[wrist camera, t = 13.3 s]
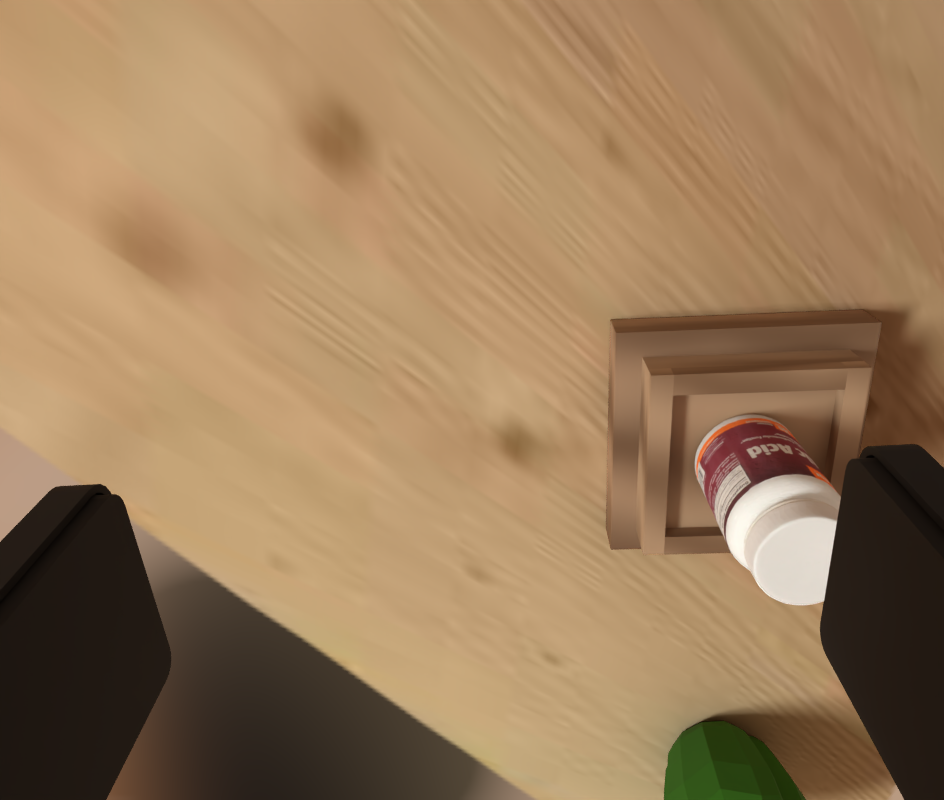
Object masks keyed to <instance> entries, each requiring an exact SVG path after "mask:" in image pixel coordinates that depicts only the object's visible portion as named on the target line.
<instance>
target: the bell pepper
mask: <svg viewBox="0 0 944 800" xmlns="http://www.w3.org/2000/svg"><path fill="white" fill-rule="evenodd" d="M664 800H806V799H805V798H804V796H803V795H802V793H801V792H800V790H799V789H798V787H797V786H796V784H795V783H794V782H793V780H792V779H791V777H790V776H789V774H788V773H787V772H786V770H785V769H784V768H783V766H782V765H781V764H780V762H779V761H778V759H777V758H776V757H775V756H774V755H773V753H772V752H771V751H770V750H769V748H768V747H767V746H766V745H765V744H764V743H763V742H762V741H760V740H758V739H757V738H755V737H753V736H748V735H747V734H746V732H745V731H743V730H742V729H740V728H738V727H736V726H734V725H732V724H730V723H728V722H725V721H713V722H701V723H699V724H697V725H695V726H693V727H691V728H689V729H687V730H685V731H683V732H682V733H681V735H680V736H679V737H678V739H677V740H676V742H675V743H674V744H673V746H672V748H671V750H670V751H669V753H668V766H667V768H666V776H665V787H664Z"/></svg>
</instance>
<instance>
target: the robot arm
mask: <svg viewBox="0 0 944 800" xmlns="http://www.w3.org/2000/svg"><path fill="white" fill-rule="evenodd" d="M820 635H821V641H822V645H823V649H824V651H825V654H826V656H827V658H828V660H829V661H830V663H831V665H832V667H833V669H834V671H835V673H836V674H837V676H838V678H839V680H840V682H841V684H842V685H843V687H844V689H845V691H846V693H847V695H848V697H849V698H850V700H851V702H852V704H853V706H854V708H855V709H856V711H857V713H858V715H859V717H860V719H861V721H862V722H863V724H864V726H865V728H866V730H867V732H868V733H869V735H870V737H871V739H872V741H873V743H874V745H875V746H876V748H877V750H878V752H879V754H880V756H881V757H882V759H883V761H884V763H885V765H886V767H887V769H888V770H889V772H890V774H891V776H892V778H893V780H894V781H895V783H896V785H897V787H898V789H899V791H900V793H901V794H902V796H903V798H904V800H944V468H943V467H942V466H941V465H940V464H939V463H938V462H937V461H936V460H935V459H934V458H933V457H932V456H931V455H930V454H928V453H927V452H926V451H925V450H924V449H923V448H922V447H920V446H919V445H915V444H907V445H887V446H868V447H866V448H865V449H864V450H863V451H862V453H861V455H860V457H859V458H855V459H851V460H850V461H849V462H848V464H847V466H846V470H845V475H844V481H843V487H842V494H841V500H840V506H839V512H838V518H837V524H836V530H835V537H834V543H833V549H832V555H831V561H830V567H829V573H828V580H827V586H826V592H825V598H824V604H823V610H822V616H821V623H820ZM170 667H171V651H170V647H169V644H168V640H167V637H166V634H165V631H164V628H163V624H162V621H161V618H160V615H159V612H158V609H157V605H156V602H155V599H154V596H153V593H152V590H151V586H150V583H149V580H148V577H147V574H146V570H145V567H144V564H143V561H142V558H141V554H140V551H139V548H138V545H137V542H136V539H135V535H134V532H133V529H132V526H131V523H130V520H129V516H128V513H127V510H126V507H125V504H124V502H123V500H122V499H121V497H120V496H118V495H116V494H112V495H111V492H110V491H109V490H108V489H107V487H106V486H103V485H101V484H94V485H74V486H59V487H55V488H53V489H52V490H51V491H49V492H48V493H47V494H46V495H45V496H44V497H43V498H42V500H40V501H39V503H38V504H37V505H36V506H35V507H34V508H33V509H32V510H31V511H30V512H29V513H28V514H27V515H26V516H25V517H24V518H23V519H22V520H21V521H20V522H19V523H18V524H17V525H16V526H15V527H14V528H13V529H12V530H11V531H10V533H8V535H6V537H5V538H4V539H3V540H2V541H1V542H0V800H106V799H107V797H108V795H109V793H110V791H111V789H112V787H113V785H114V783H115V781H116V779H117V777H118V775H119V773H120V771H121V769H122V767H123V765H124V763H125V761H126V759H127V757H128V755H129V753H130V751H131V749H132V747H133V745H134V743H135V741H136V739H137V737H138V735H139V734H140V732H141V729H142V727H143V725H144V724H145V722H146V720H147V717H148V716H149V713H150V712H151V709H152V708H153V706H154V704H155V702H156V700H157V698H158V696H159V694H160V692H161V690H162V688H163V686H164V684H165V682H166V680H167V677H168V675H169V671H170Z"/></svg>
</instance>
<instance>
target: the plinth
mask: <svg viewBox="0 0 944 800" xmlns="http://www.w3.org/2000/svg"><path fill="white" fill-rule="evenodd" d="M881 325H882V322H880V321H879V320H877V319H876V318H874V317H873V316H872V315H870V314H869V313H867V312H866V311H864V310H839V311H814V312H790V313H765V314H740V315H716V316H691V317H666V318H642V319H617V320H610V360H609V408H608V457H607V505H606V530H607V535H608V539H609V544H610V548H611V550H613V549H642V552H643V555H661V554H701V553H731V552H730V550H729V548H728V546H727V543H726V541H725V538H724V536H723V534H722V532H721V530H720V527H719V525H718V523H717V521H716V519H715V516H714V514H713V512H712V510H711V508H710V506H709V504H708V501H707V499H706V497H705V495H704V493H703V490H702V488H701V486H700V484H699V481H698V479H697V476H696V472H695V456H696V452H697V449H698V447H699V445H700V443H701V442H702V440H703V439H704V437H705V436H706V435H707V434H708V433H709V432H710V431H711V430H712V429H713V428H714V427H715V426H717V425H718V424H720V423H722V422H723V421H725V420H727V419H730V418H733V417H736V416H742V415H749V414H755V415H762V416H766V417H769V418H772V419H774V420H776V421H778V422H780V423H781V424H782V425H784V426H785V427H786V428H787V429H788V430H789V431H790V432H791V434H792V435H793V436H794V437H795V439H796V440H797V441H798V442H799V444H800V445H801V446H802V447H803V449H804V450H805V451H806V453H807V454H808V455H809V457H810V458H811V459H812V460H813V461H814V463H815V464H816V466H817V467H818V468H819V469H820V471H821V472H822V474H823V475H824V476H825V477H826V478H827V479H828V481H829V482H830V484H831V485H832V486H833V487H834V489H835V490H836V491H837V493H838V494H839V496H840V497H841V494H842V487H843V481H844V475H845V470H846V466H847V464H848V462H849V461H850V460H851V459H855V458H859V454H860V448H861V442H862V436H863V430H864V424H865V419H866V413H867V407H868V401H869V395H870V389H871V383H872V377H873V372H874V366H875V360H876V354H877V348H878V342H879V336H880V331H881Z"/></svg>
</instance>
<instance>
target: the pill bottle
mask: <svg viewBox="0 0 944 800" xmlns="http://www.w3.org/2000/svg"><path fill="white" fill-rule="evenodd" d="M695 472H696V476H697V479H698V481H699V484H700V486H701V488H702V490H703V493H704V495H705V497H706V499H707V501H708V504H709V506H710V508H711V510H712V512H713V514H714V516H715V519H716V521H717V523H718V525H719V527H720V530H721V532H722V534H723V536H724V538H725V541H726V543H727V546H728V548H729V550H730V552H731V553H732V555H733V556H734V557H735V559H736V560H737V561H738V562H739V563H741V564H742V565H743V566H744V567H745V568H747V569H748V570H750V571H751V573H752V575H753V577H754V578H755V580H756V582H757V584H758V585H759V587H760V588H761V589H762V590H763V591H764V592H765V593H766V594H767V595H768V596H770V597H772V598H773V599H775V600H777V601H780V602H782V603H786V604H791V605H811V604H816V603H820V602H823V601H824V598H825V592H826V586H827V580H828V573H829V567H830V561H831V555H832V549H833V543H834V537H835V530H836V524H837V518H838V512H839V506H840V500H841V497H840V496H839V494H838V493H837V491H836V490H835V489H834V487H833V486H832V485H831V484H830V482H829V481H828V479H827V478H826V477H825V476H824V475H823V474H822V472H821V471H820V469H819V468H818V467H817V466H816V464H815V463H814V461H813V460H812V459H811V458H810V457H809V455H808V454H807V453H806V451H805V450H804V449H803V447H802V446H801V445H800V444H799V442H798V441H797V440H796V439H795V437H794V436H793V435H792V434H791V432H790V431H789V430H788V429H787V428H786V427H785V426H784V425H782V424H781V423H780V422H778V421H776V420H774V419H772V418H769V417H766V416H762V415H755V414H749V415H742V416H736V417H733V418H730V419H727V420H725V421H723V422H722V423H720V424H718V425H717V426H715V427H714V428H713V429H712V430H711V431H710V432H709V433H708V434H707V435H706V436H705V437H704V439H703V440H702V442H701V443H700V445H699V447H698V449H697V452H696V456H695Z"/></svg>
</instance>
